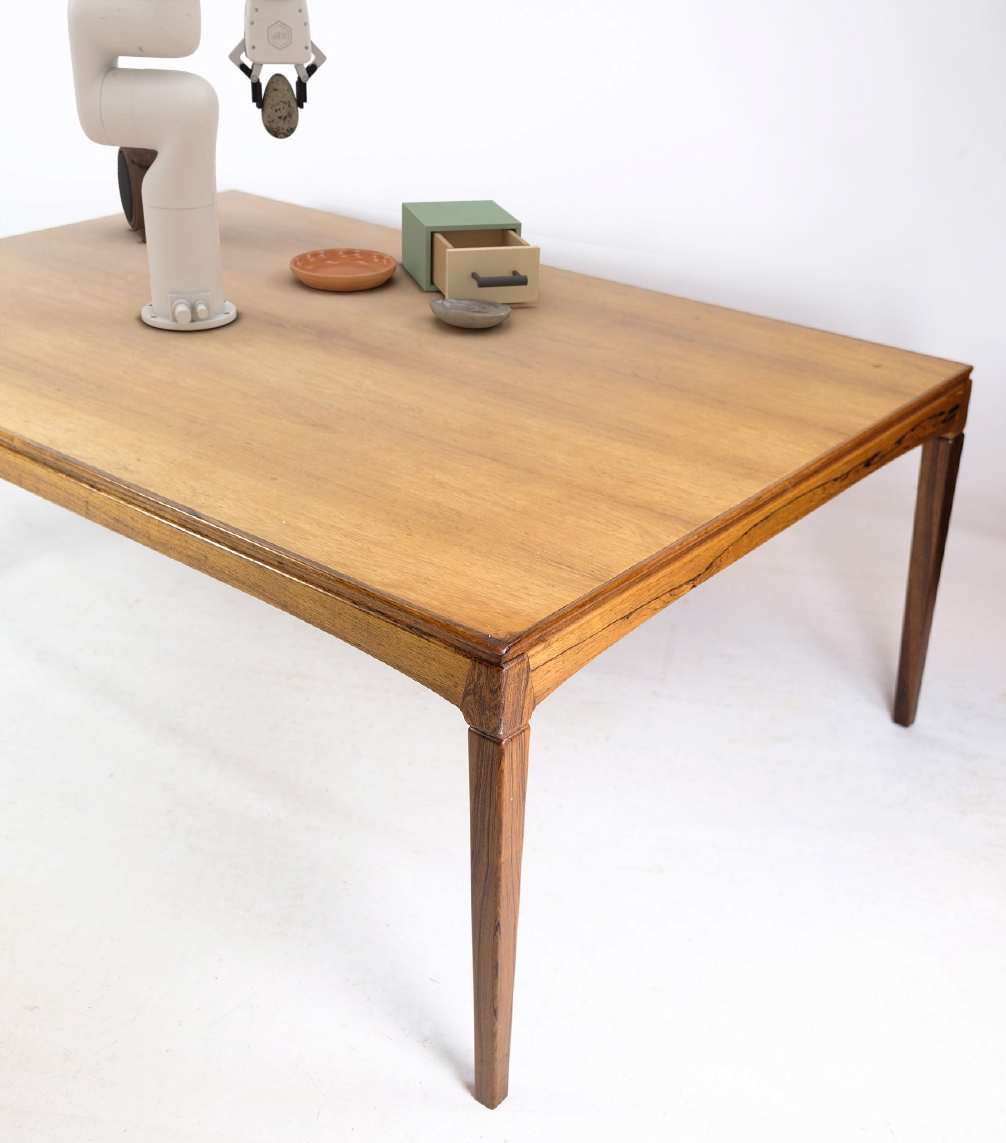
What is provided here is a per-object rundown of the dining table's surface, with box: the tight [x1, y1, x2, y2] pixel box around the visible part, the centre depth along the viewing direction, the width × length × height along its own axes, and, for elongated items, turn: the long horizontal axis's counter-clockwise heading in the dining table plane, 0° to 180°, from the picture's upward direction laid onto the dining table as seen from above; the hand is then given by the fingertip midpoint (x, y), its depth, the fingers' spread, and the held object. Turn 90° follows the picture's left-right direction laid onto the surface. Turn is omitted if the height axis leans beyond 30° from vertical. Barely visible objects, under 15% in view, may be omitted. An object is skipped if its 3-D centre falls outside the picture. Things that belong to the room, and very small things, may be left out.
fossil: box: [428, 298, 513, 329], centre depth 177 cm, size 10×12×3 cm
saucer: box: [289, 247, 398, 292], centre depth 194 cm, size 16×16×3 cm
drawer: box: [430, 229, 541, 304], centre depth 186 cm, size 19×13×8 cm
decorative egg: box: [260, 72, 300, 140], centre depth 208 cm, size 6×6×10 cm
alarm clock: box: [117, 147, 158, 243], centre depth 210 cm, size 15×7×20 cm, turn 25°
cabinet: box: [401, 199, 522, 292], centre depth 198 cm, size 16×15×10 cm
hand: (279, 106), depth 208 cm, fingers closed on decorative egg, 5 cm apart
